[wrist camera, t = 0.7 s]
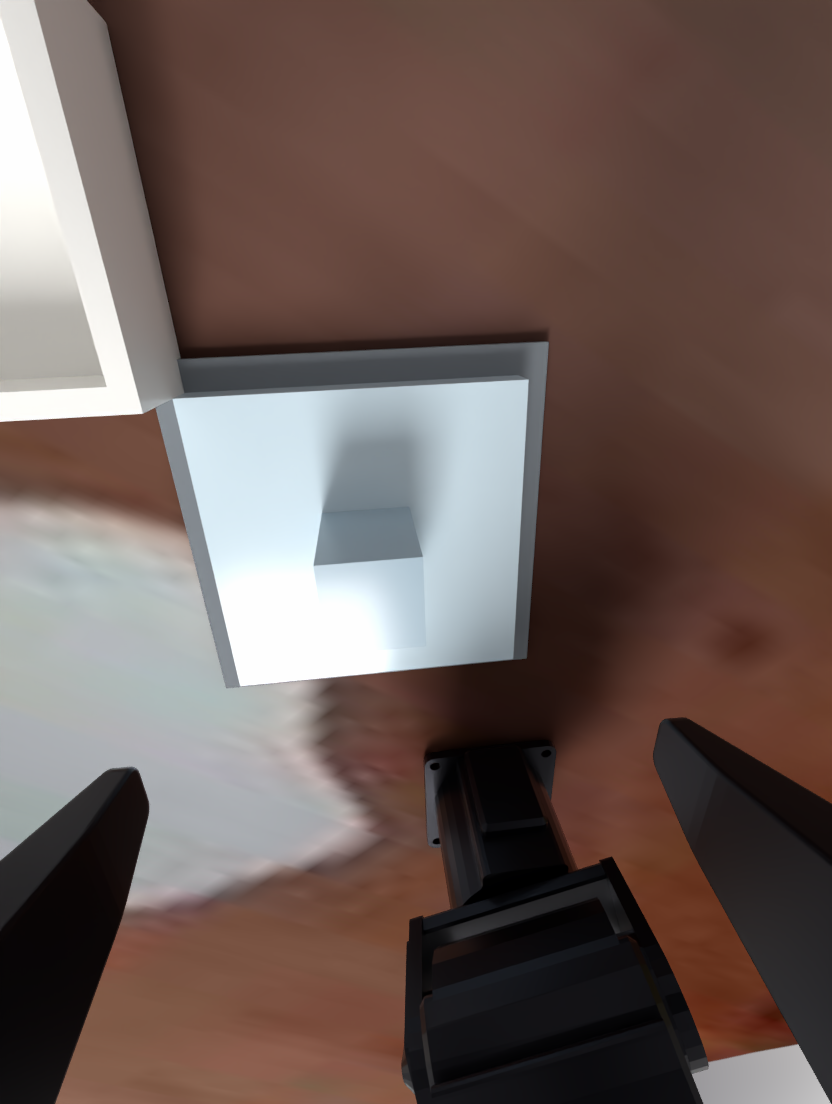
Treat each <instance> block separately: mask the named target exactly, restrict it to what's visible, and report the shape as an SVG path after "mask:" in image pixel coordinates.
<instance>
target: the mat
mask: <svg viewBox="0 0 832 1104" xmlns="http://www.w3.org/2000/svg"><path fill="white" fill-rule="evenodd" d="M548 346H549V342H546V341H541V342H520V343H499V344H478V345H457V346H437V347H416V348H395V349H374V350H353V351H332V352H312V353H291V354H270V355H249V356H228V357H208V358H187V359H178V360H177V362H178V367H179V371H180V376H181V380H182V385H183V389H184V393H192V392H211V391H229V390H248V389H267V388H286V387H304V386H323V385H342V384H361V383H379V382H398V381H417V380H436V379H455V378H473V377H492V376H511V375H519V376H521V377H524V378H526V379H529V383H528V401H527V419H526V437H525V455H524V473H523V491H522V509H521V527H520V545H519V563H518V581H517V599H516V617H515V635H514V653H513V659H509V660H517V659H527V647H528V633H529V619H530V604H531V590H532V576H533V561H534V547H535V533H536V518H537V504H538V489H539V475H540V461H541V446H542V432H543V418H544V403H545V389H546V375H547V360H548ZM156 411H157V415H158V419H159V423H160V427H161V431H162V435H163V439H164V443H165V447H166V451H167V455H168V459H169V463H170V467H171V471H172V475H173V479H174V483H175V487H176V491H177V495H178V499H179V503H180V507H181V511H182V515H183V519H184V523H185V527H186V531H187V535H188V538H189V542H190V546H191V550H192V554H193V558H194V562H195V566H196V570H197V574H198V578H199V582H200V586H201V590H202V594H203V598H204V602H205V606H206V610H207V614H208V618H209V622H210V626H211V630H212V634H213V638H214V642H215V646H216V650H217V654H218V658H219V662H220V665H221V669H222V673H223V677H224V681H225V685H226V688H234V687H244V686H240V683H239V678H238V674H237V670H236V666H235V661H234V657H233V653H232V649H231V644H230V640H229V636H228V632H227V628H226V623H225V619H224V615H223V611H222V606H221V602H220V598H219V594H218V589H217V585H216V581H215V577H214V572H213V568H212V564H211V560H210V556H209V551H208V547H207V543H206V539H205V534H204V530H203V526H202V522H201V517H200V513H199V509H198V505H197V501H196V496H195V492H194V488H193V484H192V479H191V475H190V471H189V467H188V462H187V458H186V454H185V450H184V445H183V441H182V437H181V433H180V429H179V424H178V420H177V416H176V412H175V407H174V403H173V399H171V400H169V401H167V402H165V403H163V404H161V405H159V406H157V407H156ZM499 661H507V660H499ZM489 662H497V661H489ZM479 663H487V662H479ZM469 664H477V663H469ZM459 665H466V664H459ZM448 666H456V665H448ZM438 667H446V666H438ZM428 668H436V667H428ZM418 669H426V668H418ZM408 670H416V669H408ZM398 671H406V670H398ZM388 672H396V671H388ZM378 673H386V672H378ZM368 674H376V673H368ZM357 675H365V674H357ZM347 676H355V675H347ZM337 677H345V676H337ZM327 678H335V677H327ZM317 679H325V678H317ZM307 680H315V679H307ZM297 681H305V680H297ZM287 682H295V681H287ZM277 683H285V682H277ZM266 684H275V683H266ZM256 685H264V684H256ZM246 686H254V685H246Z"/></svg>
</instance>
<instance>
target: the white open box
mask: <svg viewBox="0 0 832 1104" xmlns="http://www.w3.org/2000/svg"><path fill="white" fill-rule="evenodd" d="M178 359H181V357H180V353H179V348H178V344H177V339H176V335H175V330H174V326H173V321H172V317H171V312H170V308H169V303H168V299H167V294H166V290H165V285H164V281H163V276H162V272H161V267H160V263H159V258H158V254H157V249H156V245H155V240H154V236H153V231H152V227H151V222H150V218H149V213H148V209H147V204H146V200H145V195H144V191H143V186H142V182H141V177H140V173H139V168H138V164H137V159H136V155H135V150H134V146H133V141H132V137H131V132H130V128H129V123H128V119H127V114H126V110H125V105H124V101H123V96H122V92H121V87H120V83H119V78H118V74H117V69H116V65H115V60H114V56H113V51H112V47H111V42H110V38H109V33H108V29H107V24H106V22H105V21H104V20H103V18H102V17H101V16H100V15H99V14H98V13H97V12H96V10H95V9H94V8H93V7H92V6H91V5H90V4H89V2H88V1H87V0H0V422H2V421H20V420H38V419H55V418H73V417H91V416H109V415H127V414H143V413H145V412H147V411H149V410H151V409H153V408H155V407H157V406H159V405H161V404H163V403H165V402H167V401H169V400H171V399H173V398H175V397H177V396H179V395H181V394H183V393H184V389H183V385H182V380H181V376H180V371H179V367H178V362H177V360H178Z"/></svg>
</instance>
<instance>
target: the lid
mask: <svg viewBox="0 0 832 1104" xmlns="http://www.w3.org/2000/svg"><path fill="white" fill-rule="evenodd" d="M528 383H529V379H526V378H524V377H521V376H519V375H511V376H492V377H473V378H455V379H436V380H417V381H398V382H379V383H361V384H342V385H323V386H304V387H286V388H267V389H248V390H229V391H211V392H192V393H183V394H181V395H179V396H177V397H175V398H173V403H174V407H175V412H176V416H177V420H178V424H179V429H180V433H181V437H182V441H183V445H184V450H185V454H186V458H187V462H188V467H189V471H190V475H191V479H192V484H193V488H194V492H195V496H196V501H197V505H198V509H199V513H200V517H201V522H202V526H203V530H204V534H205V539H206V543H207V547H208V551H209V556H210V560H211V564H212V568H213V572H214V577H215V581H216V585H217V589H218V594H219V598H220V602H221V606H222V611H223V615H224V619H225V623H226V628H227V632H228V636H229V640H230V644H231V649H232V653H233V657H234V661H235V666H236V670H237V674H238V678H239V683H240V686H246V685H256V684H266V683H277V682H287V681H297V680H307V679H317V678H327V677H337V676H347V675H357V674H368V673H378V672H388V671H398V670H408V669H418V668H428V667H438V666H448V665H459V664H469V663H479V662H489V661H499V660H509V659H513V653H514V635H515V617H516V599H517V581H518V563H519V545H520V527H521V509H522V491H523V473H524V455H525V437H526V419H527V401H528Z"/></svg>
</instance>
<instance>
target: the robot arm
mask: <svg viewBox="0 0 832 1104" xmlns="http://www.w3.org/2000/svg"><path fill="white" fill-rule="evenodd" d="M544 750H545V751H544ZM555 758H556V749H555V747H554V745H553V743H552V742H551V741H549V740H539V741H530V742H521V743H512V744H504V745H495V746H486V747H477V748H468V749H459V750H450V751H441V752H433V753H430V754H428V755H426V757H425V758H424V780H425V803H426V827H427V840H428V844H429V846H431V847H434V848H438V847H441V852H442V858H443V864H444V870H445V877H446V883H447V889H448V895H449V902H450V908H451V909H450V910H447V911H444V912H441V913H437V914H434V915H431V916H428V917H423V916H419V917H416V918H413V919H410V922H409V941H408V942H407V955H406V995H405V1035H404V1050H403V1057H402V1076H403V1080H404V1083H405V1085H406V1086H407V1087H408V1088H409V1089H410V1090H411V1091H412V1092H413V1093H414V1094H415V1096H416V1100H417V1104H703V1102H702V1099H701V1097H700V1094H699V1092H698V1089H697V1087H696V1084H695V1082H694V1079H693V1077H692V1074H693V1073H696V1072H699V1071H703V1070H707V1069H708V1067H709V1066H708V1061H707V1057H706V1054H705V1050H704V1047H703V1044H702V1042H701V1039H700V1036H699V1033H698V1031H697V1028H696V1025H695V1023H694V1020H693V1018H692V1015H691V1013H690V1010H689V1008H688V1006H687V1003H686V1001H685V999H684V996H683V994H682V992H681V989H680V987H679V985H678V983H677V981H676V978H675V976H674V974H673V972H672V970H671V968H670V965H669V963H668V961H667V959H666V957H665V955H664V953H663V951H662V949H661V947H660V945H659V943H658V942H657V940H656V938H655V936H654V934H653V932H652V930H651V928H650V927H649V925H648V923H647V921H646V919H645V917H644V915H643V913H642V912H641V910H640V908H639V906H638V904H637V902H636V900H635V898H634V897H633V895H632V893H631V891H630V889H629V887H628V885H627V884H626V882H625V880H624V878H623V876H622V874H621V872H620V870H619V869H618V867H617V865H616V863H615V861H614V859H613V857H608V858H605V859H602V860H599V862H600V863H598V864H595V865H591V866H588V867H585V868H582V869H579V870H578V868H577V866H576V863H575V861H574V858H573V856H572V853H571V850H570V848H569V845H568V843H567V840H566V838H565V835H564V833H563V830H562V828H561V825H560V823H559V820H558V818H557V815H556V813H555V810H554V808H553V805H552V803H551V794H552V785H553V776H554V767H555ZM653 760H654V764H655V767H656V770H657V772H658V775H659V777H660V779H661V781H662V784H663V786H664V788H665V791H666V793H667V795H668V797H669V800H670V802H671V804H672V807H673V809H674V811H675V814H676V816H677V818H678V820H679V823H680V825H681V827H682V830H683V832H684V834H685V836H686V839H687V841H688V843H689V845H690V847H691V849H692V852H693V854H694V855H695V857H696V859H697V861H698V863H699V865H700V867H701V869H702V871H703V872H704V874H705V876H706V878H707V880H708V881H709V883H710V885H711V887H712V889H713V890H714V892H715V894H716V896H717V898H718V899H719V901H720V903H721V905H722V907H723V909H724V910H725V912H726V914H727V916H728V918H729V919H730V921H731V923H732V925H733V927H734V928H735V930H736V932H737V934H738V936H739V938H740V939H741V941H742V943H743V945H744V947H745V948H746V950H747V952H748V954H749V956H750V957H751V959H752V961H753V963H754V965H755V966H756V968H757V970H758V972H759V974H760V976H761V977H762V979H763V981H764V983H765V985H766V986H767V988H768V990H769V992H770V994H771V995H772V997H773V999H774V1001H775V1003H776V1005H777V1006H778V1008H779V1010H780V1012H781V1014H782V1015H783V1017H784V1019H785V1021H786V1023H787V1024H788V1026H789V1028H790V1030H791V1032H792V1033H793V1035H794V1037H795V1039H796V1041H797V1043H798V1044H799V1046H800V1048H801V1050H802V1052H803V1053H804V1055H805V1057H806V1059H807V1061H808V1062H809V1064H810V1066H811V1068H812V1070H813V1071H814V1073H815V1075H816V1077H817V1079H818V1081H819V1082H820V1084H821V1086H822V1088H823V1090H824V1091H825V1093H826V1095H827V1097H828V1098H829V1100H830V1102H831V1104H832V804H831V803H830V802H828V801H826V800H825V799H823V798H821V797H820V796H818V795H816V794H814V793H813V792H811V791H809V790H808V789H806V788H804V787H803V786H801V785H799V784H798V783H796V782H794V781H793V780H791V779H789V778H787V777H786V776H784V775H782V774H781V773H779V772H777V771H776V770H774V769H772V768H771V767H769V766H767V765H766V764H764V763H762V762H761V761H759V760H757V759H755V758H754V757H752V756H750V755H749V754H747V753H745V752H744V751H742V750H740V749H739V748H737V747H735V746H734V745H732V744H730V743H729V742H727V741H725V740H723V739H722V738H720V737H718V736H717V735H715V734H713V733H712V732H710V731H708V730H707V729H705V728H703V727H702V726H700V725H698V724H696V723H695V722H693V721H691V720H690V719H687V718H683V717H681V718H669V719H664V720H663V721H662V722H661V723H660V725H659V729H658V734H657V738H656V743H655V747H654V751H653ZM432 763H435V764H432ZM148 816H149V801H148V797H147V794H146V791H145V788H144V785H143V782H142V779H141V776H140V773H139V771H138V770H137V769H136V768H135V767H123V768H112V769H109V770H107V771H106V772H104V773H103V774H102V775H101V776H99V777H98V778H97V779H96V780H95V781H93V782H92V783H91V784H90V785H89V786H88V787H86V788H85V789H84V790H83V791H82V792H81V793H79V794H78V795H77V796H76V797H75V798H74V799H72V800H71V801H70V802H69V803H68V804H66V805H65V806H64V807H63V808H62V809H61V810H59V811H58V812H57V813H56V814H55V815H54V816H52V817H51V818H50V819H49V820H48V821H47V822H45V823H44V824H43V825H42V826H41V827H39V828H38V829H37V830H36V831H35V832H34V833H32V834H31V835H30V836H29V837H28V838H27V839H25V840H24V841H23V842H22V843H21V844H20V845H18V846H17V847H16V848H15V849H14V850H13V851H11V852H10V853H9V854H8V855H7V856H5V857H4V858H3V859H2V860H1V861H0V1104H55V1103H56V1100H57V1097H58V1094H59V1092H60V1089H61V1086H62V1083H63V1081H64V1078H65V1075H66V1072H67V1069H68V1067H69V1064H70V1061H71V1058H72V1056H73V1053H74V1050H75V1047H76V1045H77V1042H78V1039H79V1036H80V1034H81V1031H82V1028H83V1025H84V1023H85V1020H86V1017H87V1014H88V1011H89V1009H90V1006H91V1003H92V1000H93V998H94V995H95V992H96V989H97V987H98V984H99V981H100V978H101V976H102V973H103V970H104V967H105V965H106V962H107V959H108V956H109V954H110V951H111V948H112V945H113V942H114V940H115V937H116V934H117V931H118V928H119V925H120V922H121V919H122V916H123V913H124V909H125V906H126V902H127V898H128V894H129V890H130V887H131V883H132V879H133V875H134V871H135V867H136V863H137V859H138V855H139V851H140V847H141V843H142V840H143V836H144V832H145V828H146V824H147V820H148Z"/></svg>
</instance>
